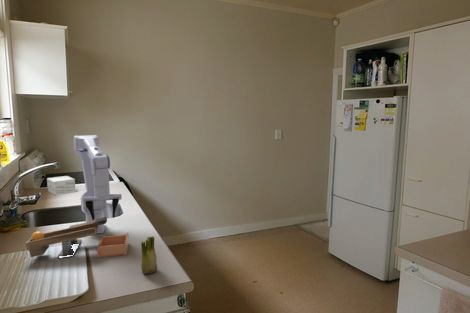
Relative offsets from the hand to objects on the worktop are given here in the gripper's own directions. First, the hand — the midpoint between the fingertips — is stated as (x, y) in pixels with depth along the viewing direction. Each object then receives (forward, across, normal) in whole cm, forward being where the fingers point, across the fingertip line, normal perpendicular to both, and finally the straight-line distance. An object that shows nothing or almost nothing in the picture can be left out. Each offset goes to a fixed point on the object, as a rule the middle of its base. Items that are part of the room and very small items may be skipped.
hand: (103, 218), depth 130 cm
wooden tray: (+7, -11, -3) cm, 14 cm away
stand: (+11, -12, -3) cm, 17 cm away
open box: (+11, +4, -9) cm, 14 cm away
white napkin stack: (+9, -34, +103) cm, 109 cm away
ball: (+3, -22, -7) cm, 23 cm away
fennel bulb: (+12, +16, -30) cm, 36 cm away
